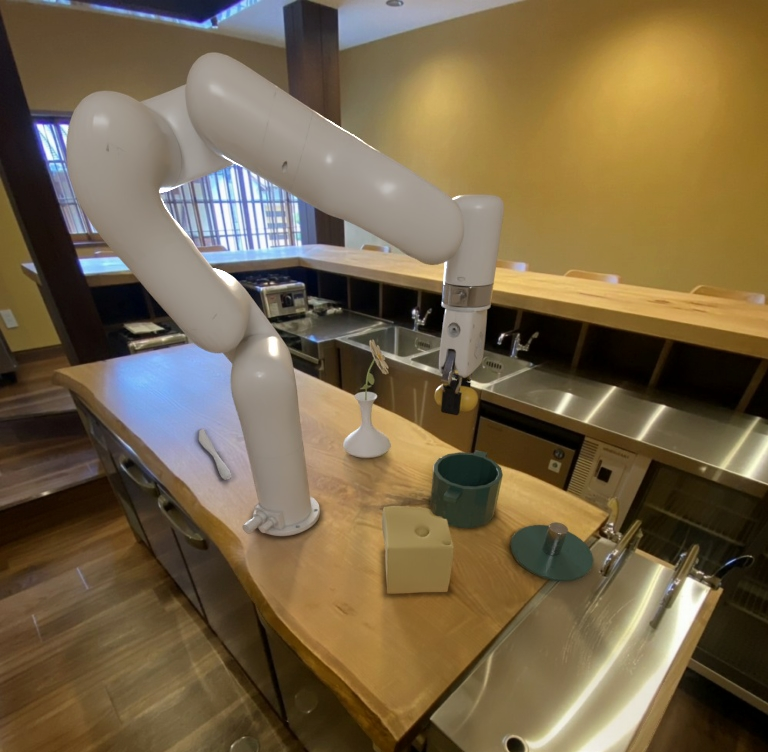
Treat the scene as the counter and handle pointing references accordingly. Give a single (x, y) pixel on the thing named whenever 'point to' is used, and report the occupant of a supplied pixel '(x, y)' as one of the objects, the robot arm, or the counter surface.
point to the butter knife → (214, 455)
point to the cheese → (416, 550)
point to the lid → (551, 552)
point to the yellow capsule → (467, 398)
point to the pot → (465, 488)
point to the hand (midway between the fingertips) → (454, 406)
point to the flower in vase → (368, 418)
